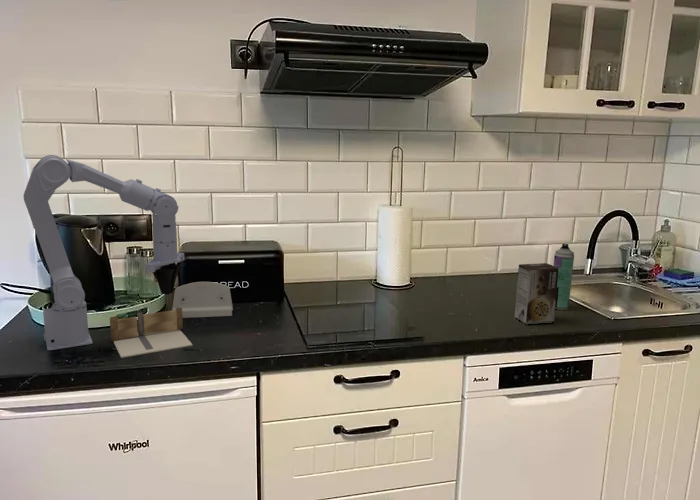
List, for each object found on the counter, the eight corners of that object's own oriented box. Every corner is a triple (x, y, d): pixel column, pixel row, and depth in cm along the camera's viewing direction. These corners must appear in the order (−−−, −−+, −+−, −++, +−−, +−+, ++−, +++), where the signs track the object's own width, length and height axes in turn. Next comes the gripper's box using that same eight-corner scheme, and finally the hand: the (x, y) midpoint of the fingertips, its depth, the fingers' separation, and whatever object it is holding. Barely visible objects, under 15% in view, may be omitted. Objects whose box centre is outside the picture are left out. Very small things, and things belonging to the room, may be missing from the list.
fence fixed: (111, 341, 133) (110, 319, 132) (110, 339, 134) (109, 317, 133) (138, 337, 136) (136, 315, 135) (136, 335, 138) (135, 313, 136)
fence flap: (139, 336, 136) (138, 314, 135) (138, 334, 138) (136, 312, 136) (183, 329, 142) (182, 308, 141) (181, 327, 143) (181, 306, 142)
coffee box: (541, 316, 161) (546, 262, 158) (554, 324, 155) (560, 267, 152) (513, 318, 159) (518, 263, 156) (525, 325, 153) (530, 269, 149)
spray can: (564, 305, 172) (571, 242, 168) (571, 311, 167) (578, 246, 163) (546, 305, 172) (553, 242, 168) (552, 310, 167) (559, 245, 163)
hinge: (170, 318, 152) (170, 281, 153) (172, 318, 156) (172, 283, 158) (233, 315, 155) (232, 280, 157) (233, 316, 160) (232, 281, 161)
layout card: (121, 357, 124) (121, 356, 124) (111, 338, 136) (111, 336, 136) (192, 345, 133) (192, 344, 132) (177, 328, 144) (177, 326, 144)
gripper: (162, 247, 132) (165, 302, 134) (194, 237, 145) (195, 287, 148) (136, 245, 133) (139, 299, 136) (169, 235, 147) (172, 285, 150)
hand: (167, 293), depth 142 cm, fingers closed
